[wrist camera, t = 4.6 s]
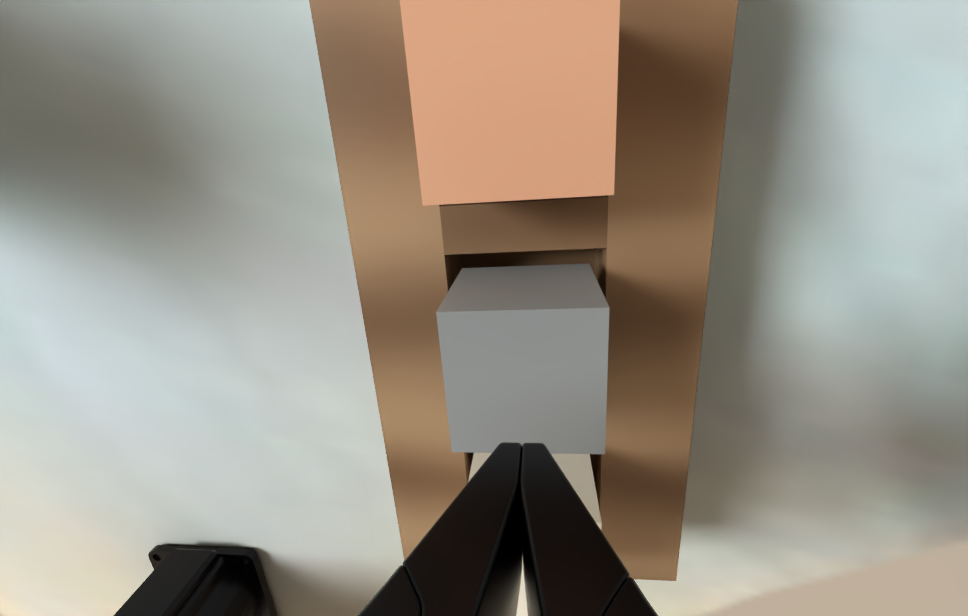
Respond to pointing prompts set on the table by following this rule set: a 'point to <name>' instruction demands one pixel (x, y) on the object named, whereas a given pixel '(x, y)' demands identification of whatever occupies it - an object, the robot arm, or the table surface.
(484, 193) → the orange cube
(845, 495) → the table surface
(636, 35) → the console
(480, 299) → the grey cube
